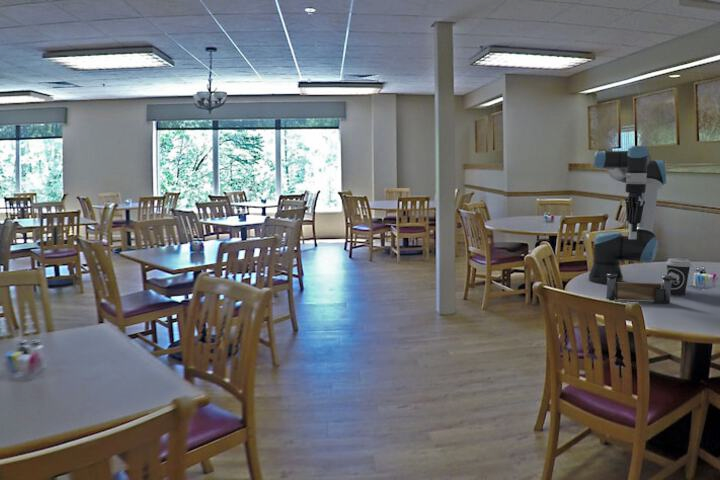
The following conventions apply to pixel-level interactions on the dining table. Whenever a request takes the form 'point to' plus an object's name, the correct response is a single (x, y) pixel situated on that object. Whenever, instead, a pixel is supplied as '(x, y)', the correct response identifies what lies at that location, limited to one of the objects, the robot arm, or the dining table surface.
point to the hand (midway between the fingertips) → (632, 238)
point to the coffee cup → (678, 275)
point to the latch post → (663, 291)
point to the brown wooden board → (636, 291)
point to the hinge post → (611, 286)
